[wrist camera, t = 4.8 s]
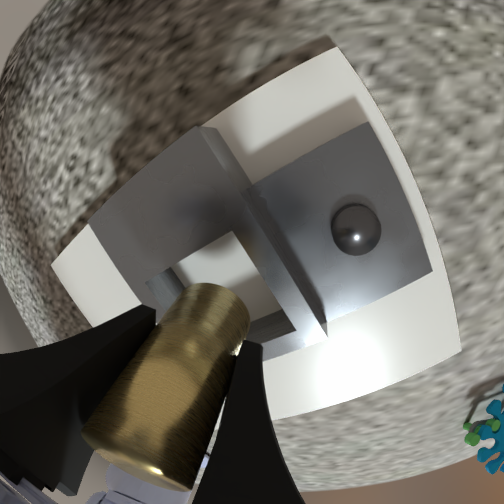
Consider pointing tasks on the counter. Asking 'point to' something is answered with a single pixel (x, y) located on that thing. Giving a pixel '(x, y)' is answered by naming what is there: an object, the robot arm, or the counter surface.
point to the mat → (251, 282)
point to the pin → (172, 390)
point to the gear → (489, 436)
